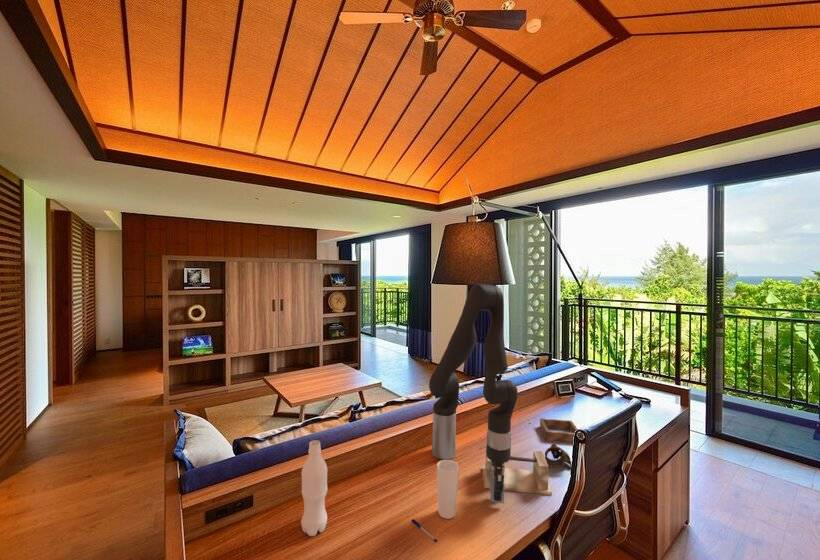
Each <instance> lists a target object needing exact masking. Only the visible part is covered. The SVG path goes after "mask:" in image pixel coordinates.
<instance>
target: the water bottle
mask: <svg viewBox="0 0 820 560" xmlns="http://www.w3.org/2000/svg"><path fill="white" fill-rule="evenodd" d="M308 447H309V448H308V455H307V458H306V460H305V463H304V464H303V466H302V469H301V495H302V496H301V497H302V499H303V507H304V508H303V515H302V517H301V520H300V525H301V529H302V531H303V532H304V534H307V535H308V537H309V536H310V537H315V536H317V534H318V532H319V533H323V532H324V531H325V528H326V526H327V523H328V514H327V510H326V504H325V499H326V496H327V493H328V491H329V490H328V465H327V463H326V461H325V459H324V458H323V456H322V453H321V452H322V448H321V447H322V446H321V441H320V440H316V439H315V440H314V439H313V440H311V441H309V445H308Z"/></svg>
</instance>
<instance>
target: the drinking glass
mask: <svg viewBox="0 0 820 560" xmlns="http://www.w3.org/2000/svg"><path fill="white" fill-rule="evenodd" d="M459 479H460V467H459V464H458V463H457V462H456V461H454V460H451V459H440V461H438V462H437V464H436V488H437V490H436V491H437V493H436V494H437V506H438V509H437V512H438V515H439V516H440V517H441V518H442V519H446V520H449V519H453V518H454V517H455V516H456V514H457V501H458V489H459V481H460V480H459Z"/></svg>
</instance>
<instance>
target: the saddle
mask: <svg viewBox="0 0 820 560" xmlns="http://www.w3.org/2000/svg"><path fill="white" fill-rule="evenodd" d="M492 475H493V473H491V474H490V488H489V494H490V502H492V503H499V504H504V503H505V490H504V487H505V483H503V492H502V495H501V501H495V500H494V481H493V479H492ZM494 477H495V474H494Z"/></svg>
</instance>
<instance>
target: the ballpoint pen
mask: <svg viewBox="0 0 820 560" xmlns="http://www.w3.org/2000/svg"><path fill="white" fill-rule="evenodd" d="M411 522H412V523H413V524H414V525H416V527H417V528H419V529H420V530H421V531H422V532H424V534H426V535H427V536H428V537H429V538H430V539H432V540H433V541H434V542H435V543H438V540H437V539H436V537H434V536H433V535H432V534H431V533H430V532H429V531H427V530H426V529H424V527H423V526H422V525H421V523H419V522H418V521H416V520H415V519H414V518H412V519H411Z"/></svg>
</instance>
